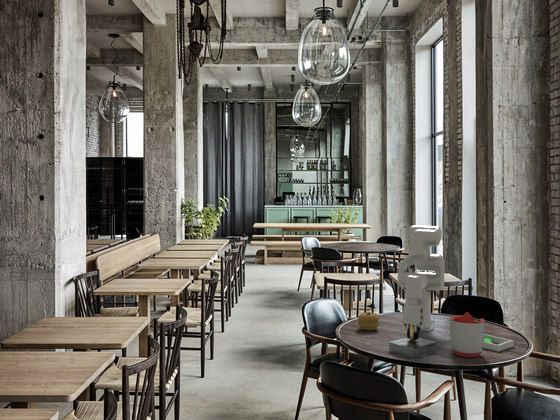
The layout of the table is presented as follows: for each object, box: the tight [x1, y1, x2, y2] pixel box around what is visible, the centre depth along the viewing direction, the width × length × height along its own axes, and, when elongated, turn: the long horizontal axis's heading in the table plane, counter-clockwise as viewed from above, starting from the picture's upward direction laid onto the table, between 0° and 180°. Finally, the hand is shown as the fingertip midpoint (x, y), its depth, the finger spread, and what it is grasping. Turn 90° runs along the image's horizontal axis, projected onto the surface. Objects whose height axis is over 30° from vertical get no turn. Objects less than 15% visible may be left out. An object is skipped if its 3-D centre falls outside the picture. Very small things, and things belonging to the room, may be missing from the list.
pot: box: [357, 311, 380, 332], centre depth 306 cm, size 12×12×10 cm
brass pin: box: [410, 325, 416, 344], centre depth 265 cm, size 3×3×10 cm
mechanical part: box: [484, 337, 493, 343], centre depth 279 cm, size 12×6×8 cm, turn 166°
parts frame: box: [482, 333, 514, 352], centre depth 277 cm, size 14×20×3 cm
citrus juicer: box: [449, 312, 486, 359], centre depth 261 cm, size 16×17×20 cm
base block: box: [388, 337, 437, 359], centre depth 265 cm, size 18×14×4 cm
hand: (412, 338), depth 265 cm, fingers closed on brass pin, 3 cm apart
